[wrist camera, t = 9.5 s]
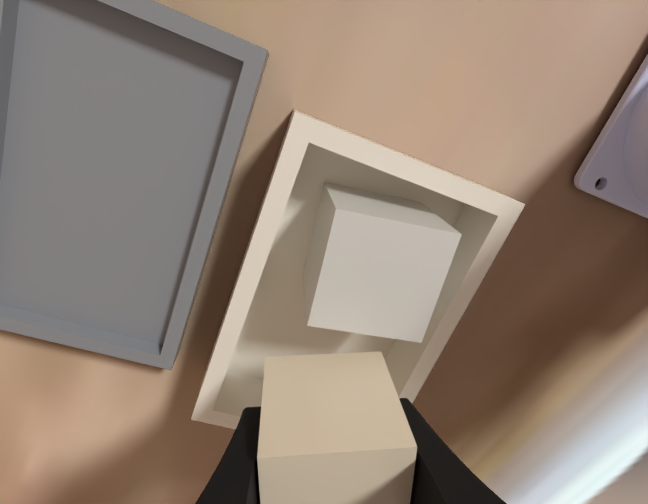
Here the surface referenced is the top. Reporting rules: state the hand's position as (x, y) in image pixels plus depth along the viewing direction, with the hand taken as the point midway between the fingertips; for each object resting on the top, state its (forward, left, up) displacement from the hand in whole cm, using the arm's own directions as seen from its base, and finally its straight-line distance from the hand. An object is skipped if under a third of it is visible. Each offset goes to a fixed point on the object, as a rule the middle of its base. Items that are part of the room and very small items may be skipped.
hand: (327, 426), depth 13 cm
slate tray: (+10, -4, -6) cm, 12 cm away
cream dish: (0, -3, -6) cm, 6 cm away
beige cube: (0, 0, -1) cm, 1 cm away
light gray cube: (0, -5, -5) cm, 7 cm away
